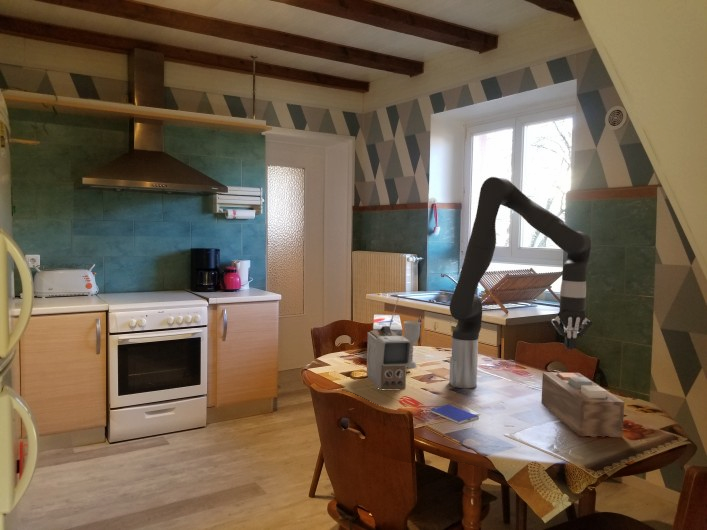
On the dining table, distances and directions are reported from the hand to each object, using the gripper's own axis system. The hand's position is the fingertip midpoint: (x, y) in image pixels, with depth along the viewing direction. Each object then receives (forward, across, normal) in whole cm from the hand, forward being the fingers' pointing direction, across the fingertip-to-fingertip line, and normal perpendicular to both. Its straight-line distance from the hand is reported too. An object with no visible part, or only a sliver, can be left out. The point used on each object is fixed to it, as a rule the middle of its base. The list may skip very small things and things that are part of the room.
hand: (569, 349), depth 178 cm
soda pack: (+20, -52, +78) cm, 96 cm away
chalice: (+20, -44, +49) cm, 69 cm away
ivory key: (+12, 0, -18) cm, 22 cm away
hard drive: (+20, -38, -8) cm, 43 cm away
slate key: (+12, 0, -9) cm, 15 cm away
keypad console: (+19, 0, -9) cm, 21 cm away
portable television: (+20, -55, +25) cm, 64 cm away
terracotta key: (+13, 0, 0) cm, 13 cm away
